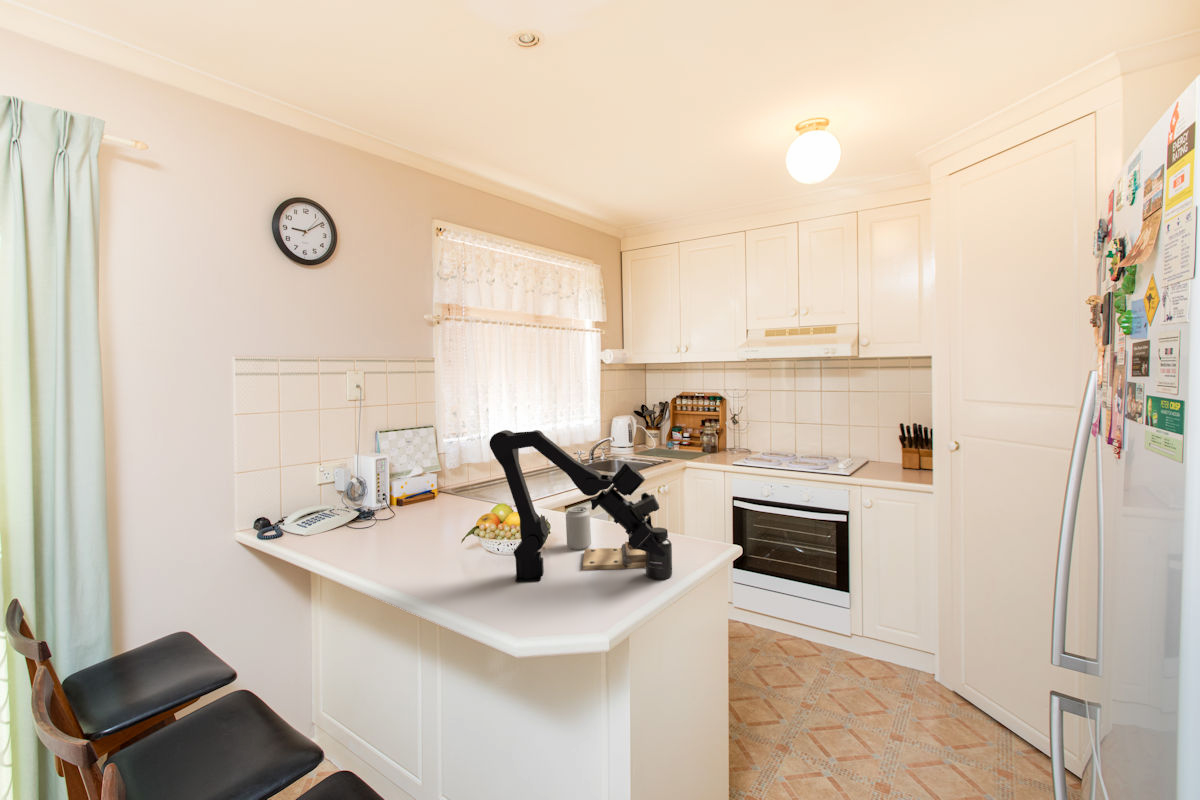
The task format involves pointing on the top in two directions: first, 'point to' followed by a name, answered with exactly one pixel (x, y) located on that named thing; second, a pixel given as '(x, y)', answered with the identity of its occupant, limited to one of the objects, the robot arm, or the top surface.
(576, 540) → the can
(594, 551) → the hinge jig
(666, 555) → the supplement bottle
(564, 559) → the top surface
